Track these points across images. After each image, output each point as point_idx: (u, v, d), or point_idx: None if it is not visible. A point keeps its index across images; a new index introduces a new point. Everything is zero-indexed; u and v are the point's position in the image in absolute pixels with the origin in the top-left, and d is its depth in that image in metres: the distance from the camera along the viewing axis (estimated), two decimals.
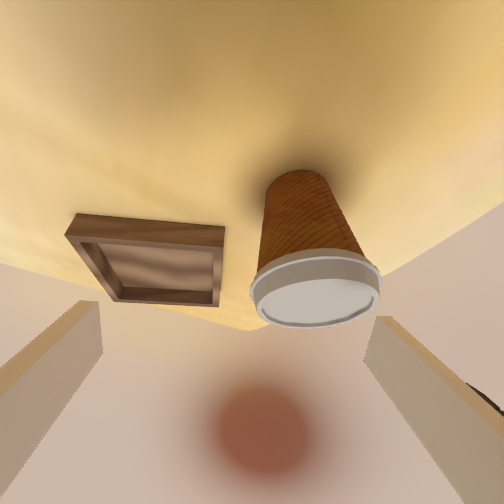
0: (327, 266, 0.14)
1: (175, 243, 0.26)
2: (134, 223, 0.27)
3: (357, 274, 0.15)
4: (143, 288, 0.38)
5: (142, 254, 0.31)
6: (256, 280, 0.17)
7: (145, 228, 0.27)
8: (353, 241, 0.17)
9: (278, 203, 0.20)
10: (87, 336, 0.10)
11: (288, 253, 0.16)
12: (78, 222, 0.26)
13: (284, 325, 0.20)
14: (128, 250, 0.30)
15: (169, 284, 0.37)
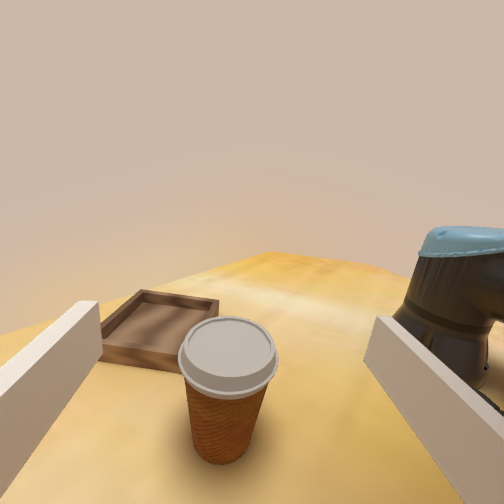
0: None
1: None
2: None
3: (273, 360, 0.22)
4: (135, 309, 0.46)
5: (179, 322, 0.43)
6: None
7: None
8: (262, 394, 0.22)
9: None
10: (87, 336, 0.10)
11: None
12: (218, 309, 0.48)
13: (195, 327, 0.25)
14: (186, 318, 0.45)
15: (131, 324, 0.42)
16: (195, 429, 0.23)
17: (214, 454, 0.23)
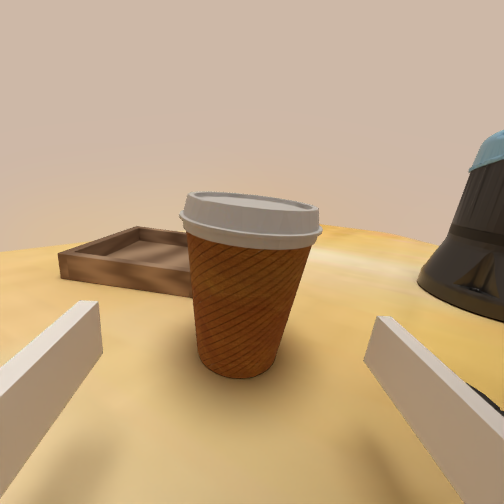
0: None
1: None
2: None
3: (318, 216, 0.15)
4: (129, 244, 0.39)
5: (181, 256, 0.37)
6: None
7: None
8: (301, 267, 0.15)
9: None
10: (87, 336, 0.10)
11: None
12: None
13: (204, 192, 0.18)
14: None
15: (123, 254, 0.35)
16: (203, 324, 0.16)
17: (229, 360, 0.16)
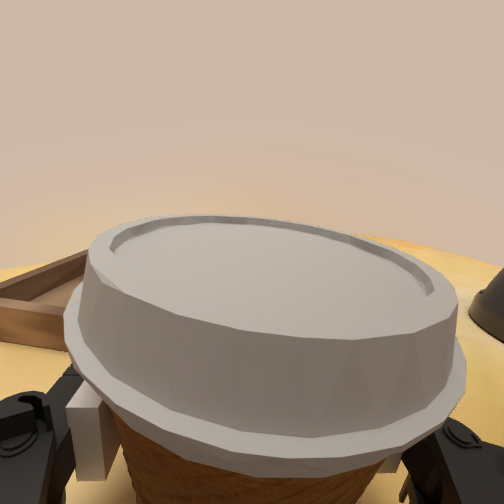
0: None
1: None
2: None
3: None
4: None
5: None
6: None
7: None
8: None
9: None
10: None
11: None
12: None
13: (161, 218, 0.08)
14: None
15: None
16: None
17: None
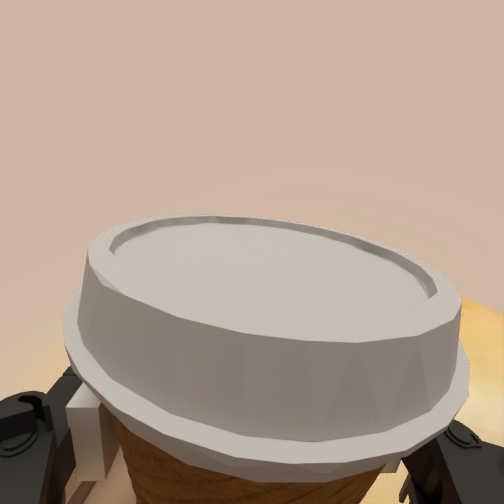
0: None
1: None
2: None
3: None
4: None
5: None
6: None
7: None
8: None
9: None
10: None
11: None
12: None
13: (161, 219, 0.08)
14: None
15: None
16: None
17: None
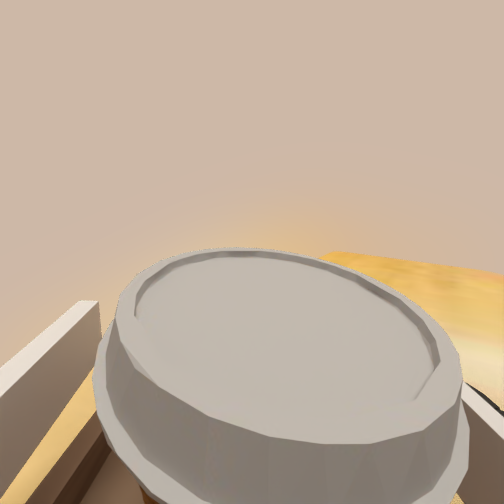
0: None
1: None
2: None
3: None
4: None
5: None
6: None
7: None
8: None
9: None
10: (87, 336, 0.10)
11: None
12: None
13: (175, 259, 0.09)
14: None
15: None
16: None
17: None
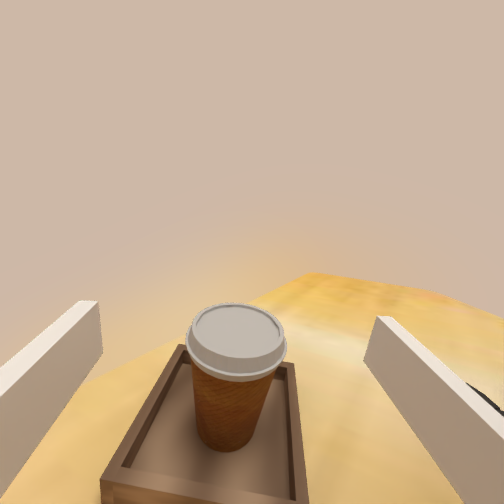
0: None
1: None
2: None
3: (282, 345, 0.22)
4: (173, 379, 0.30)
5: None
6: None
7: None
8: (270, 379, 0.22)
9: None
10: (87, 336, 0.10)
11: None
12: None
13: (203, 311, 0.24)
14: None
15: (173, 413, 0.26)
16: (200, 415, 0.23)
17: (219, 441, 0.23)
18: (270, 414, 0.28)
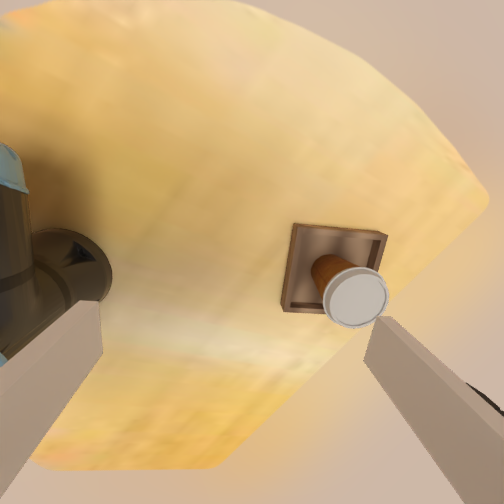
0: (326, 302, 0.34)
1: (293, 255, 0.42)
2: (285, 276, 0.45)
3: (331, 291, 0.34)
4: None
5: None
6: None
7: (287, 270, 0.44)
8: (328, 276, 0.36)
9: None
10: (87, 336, 0.10)
11: None
12: (282, 303, 0.46)
13: (381, 312, 0.35)
14: (311, 287, 0.46)
15: None
16: None
17: (335, 256, 0.43)
18: (300, 276, 0.45)
